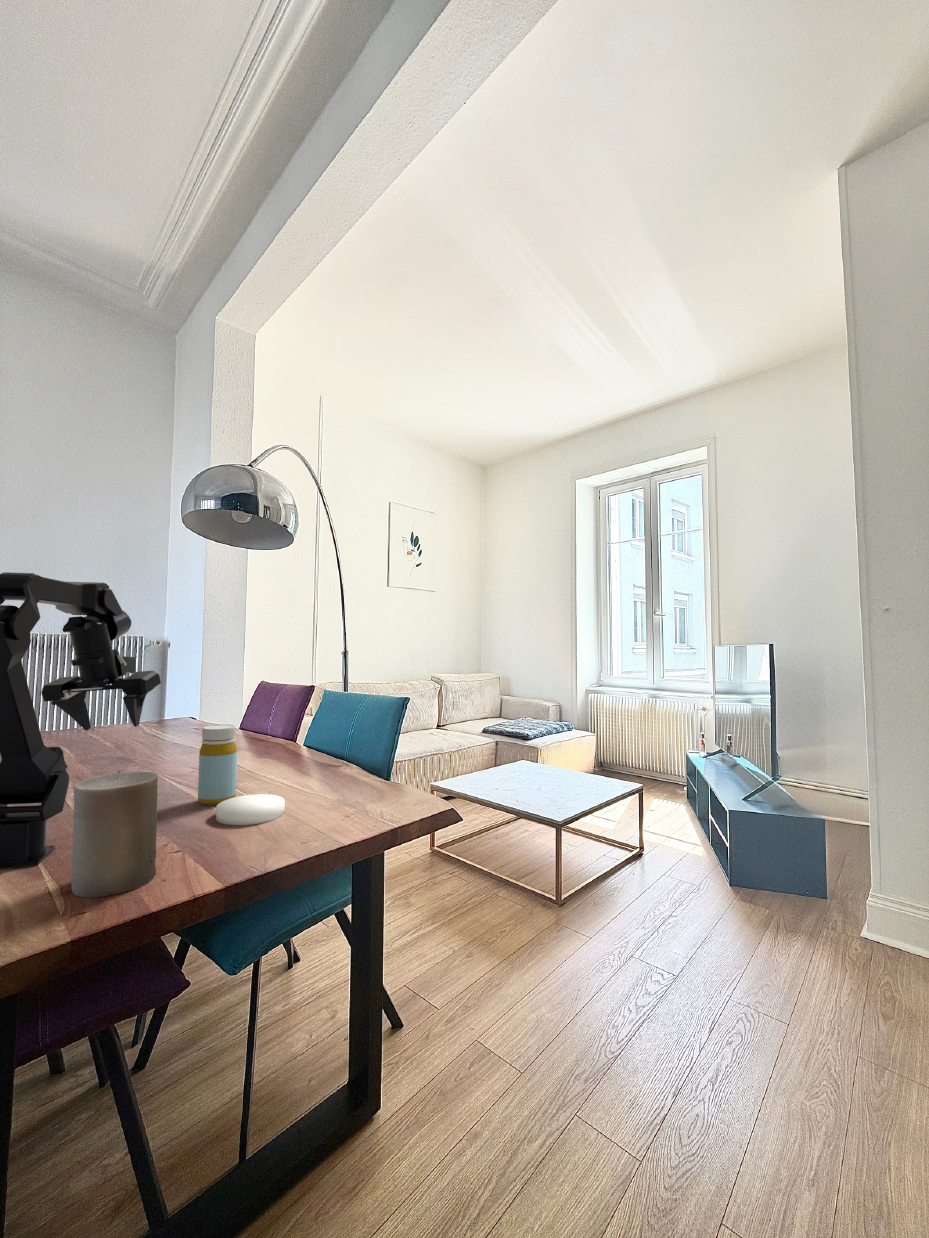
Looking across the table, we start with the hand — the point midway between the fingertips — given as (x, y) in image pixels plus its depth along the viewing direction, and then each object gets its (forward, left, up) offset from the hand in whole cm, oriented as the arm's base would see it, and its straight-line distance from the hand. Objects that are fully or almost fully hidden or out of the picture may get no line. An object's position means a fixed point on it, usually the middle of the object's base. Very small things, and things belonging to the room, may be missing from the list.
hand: (112, 727), depth 101 cm
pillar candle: (-33, -9, -16) cm, 38 cm away
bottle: (+2, -18, -16) cm, 25 cm away
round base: (-9, -25, -16) cm, 31 cm away
